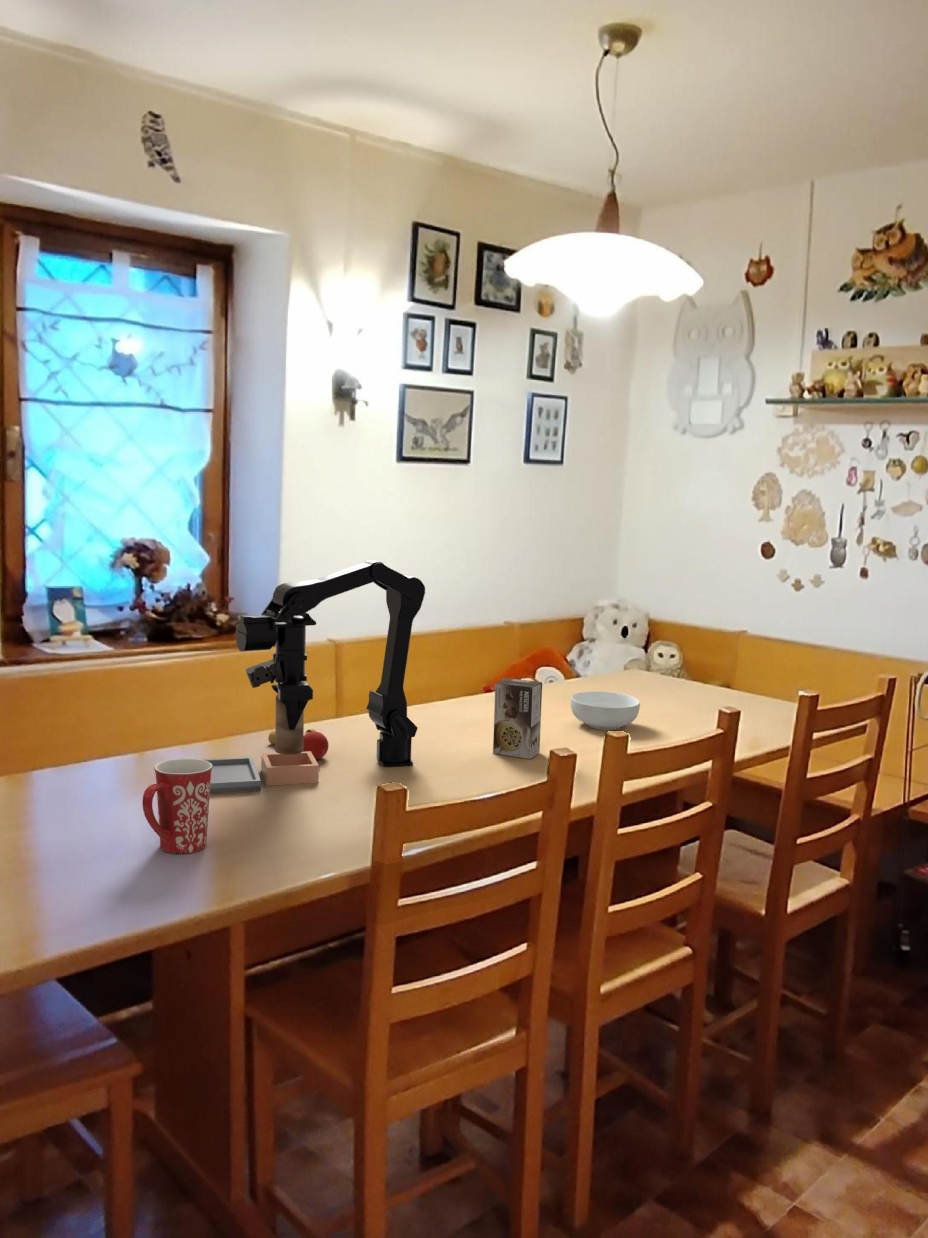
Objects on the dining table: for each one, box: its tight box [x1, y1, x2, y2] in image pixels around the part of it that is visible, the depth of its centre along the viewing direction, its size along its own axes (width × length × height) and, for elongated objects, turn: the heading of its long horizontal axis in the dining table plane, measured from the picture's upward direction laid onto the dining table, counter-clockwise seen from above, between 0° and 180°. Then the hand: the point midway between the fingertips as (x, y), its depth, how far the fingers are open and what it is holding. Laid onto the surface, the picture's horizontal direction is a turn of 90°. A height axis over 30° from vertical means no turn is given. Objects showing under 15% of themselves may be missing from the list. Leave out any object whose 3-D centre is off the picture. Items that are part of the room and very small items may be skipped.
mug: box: [142, 757, 213, 855], centre depth 165 cm, size 13×9×14 cm
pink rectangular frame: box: [260, 751, 320, 786], centre depth 206 cm, size 10×10×4 cm
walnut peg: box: [274, 694, 305, 755], centre depth 204 cm, size 6×6×11 cm
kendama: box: [267, 728, 329, 761], centre depth 223 cm, size 8×6×18 cm
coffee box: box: [492, 677, 543, 760], centre depth 227 cm, size 9×6×16 cm
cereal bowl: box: [570, 690, 641, 731], centre depth 255 cm, size 17×17×7 cm
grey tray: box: [200, 756, 262, 795], centre depth 202 cm, size 11×16×2 cm
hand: (289, 726), depth 204 cm, fingers closed on walnut peg, 5 cm apart
